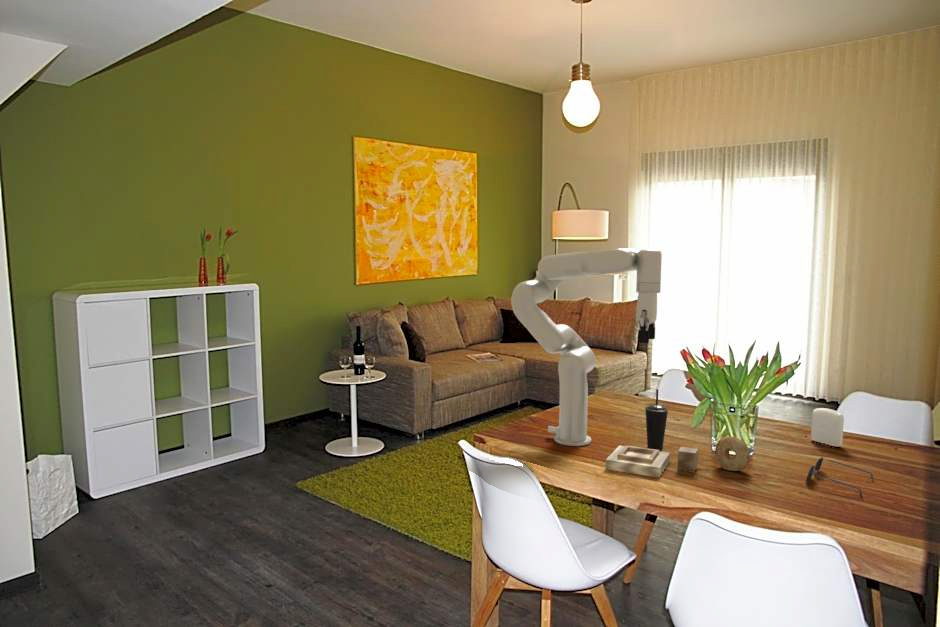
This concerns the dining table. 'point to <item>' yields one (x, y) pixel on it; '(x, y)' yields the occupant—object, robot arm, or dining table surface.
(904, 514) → the dining table surface
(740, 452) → the stone disc
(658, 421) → the drinking cup
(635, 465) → the base
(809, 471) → the sunglasses
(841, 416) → the photo printer
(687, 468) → the walnut block
